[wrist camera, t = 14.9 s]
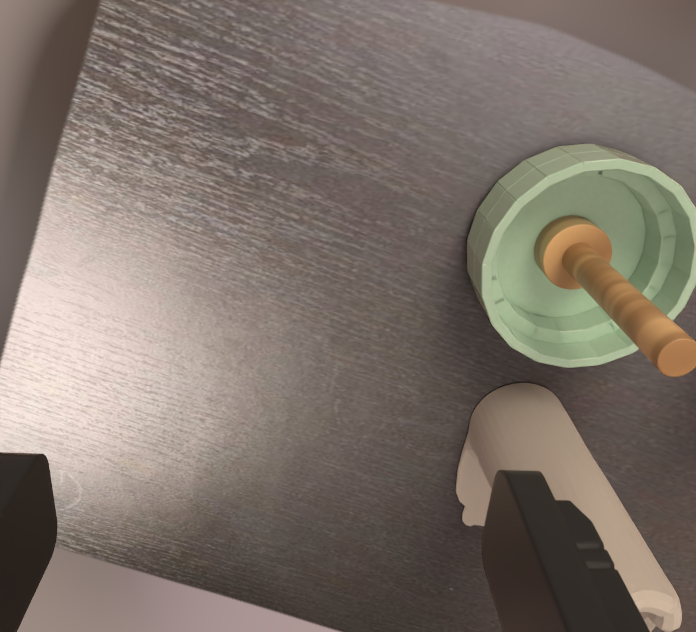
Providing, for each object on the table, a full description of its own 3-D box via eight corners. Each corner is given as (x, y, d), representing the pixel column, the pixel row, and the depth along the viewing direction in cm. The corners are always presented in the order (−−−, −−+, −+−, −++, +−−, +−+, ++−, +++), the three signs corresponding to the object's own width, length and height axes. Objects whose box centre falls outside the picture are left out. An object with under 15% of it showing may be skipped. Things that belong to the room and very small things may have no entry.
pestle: (520, 244, 43) (613, 355, 30) (577, 201, 42) (700, 295, 29) (556, 290, 45) (660, 416, 31) (612, 250, 44) (745, 361, 30)
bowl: (425, 234, 43) (437, 261, 39) (597, 96, 40) (633, 108, 36) (535, 365, 48) (558, 403, 44) (698, 252, 45) (741, 280, 40)
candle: (441, 523, 54) (504, 785, 36) (481, 377, 48) (579, 601, 30) (526, 530, 55) (629, 791, 37) (575, 387, 49) (726, 613, 31)
